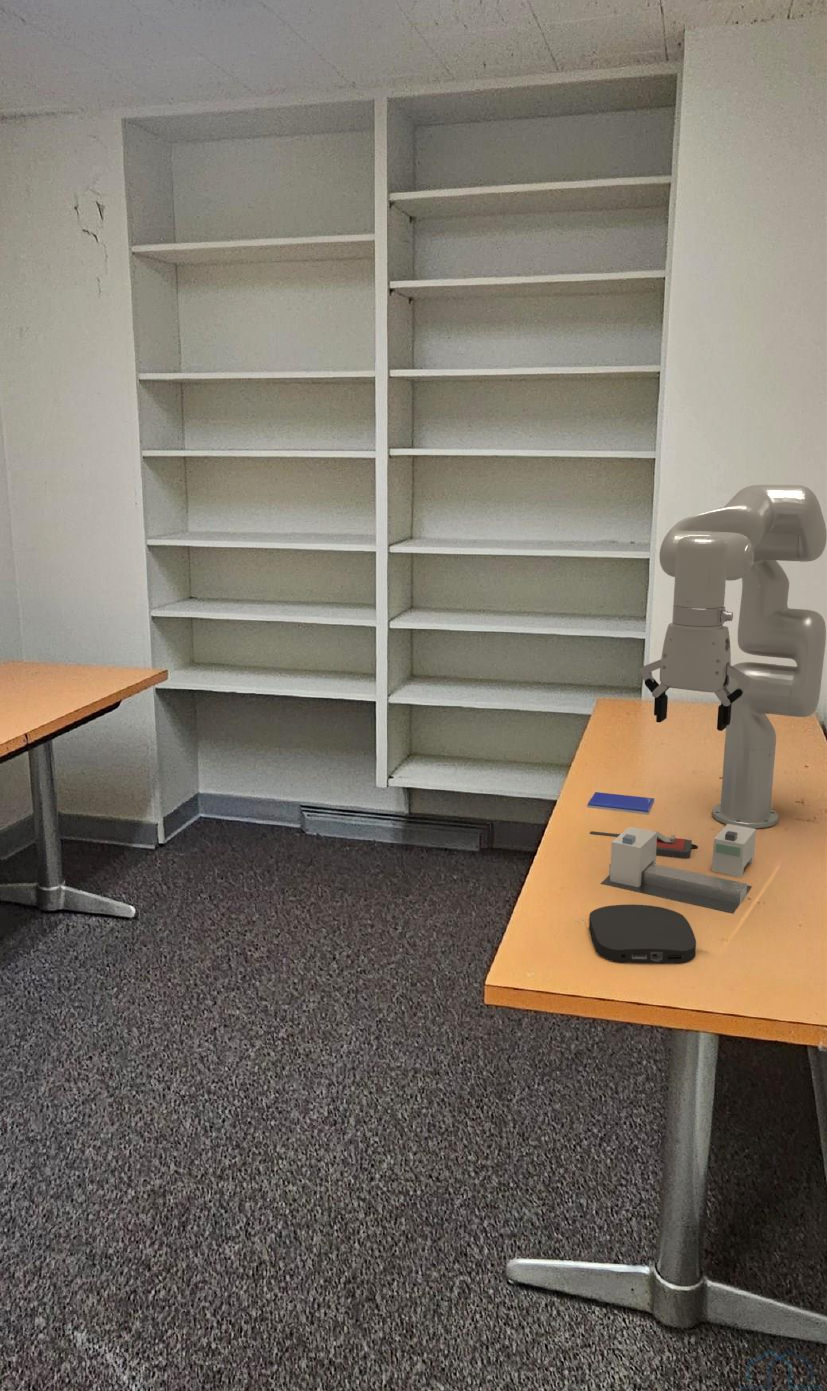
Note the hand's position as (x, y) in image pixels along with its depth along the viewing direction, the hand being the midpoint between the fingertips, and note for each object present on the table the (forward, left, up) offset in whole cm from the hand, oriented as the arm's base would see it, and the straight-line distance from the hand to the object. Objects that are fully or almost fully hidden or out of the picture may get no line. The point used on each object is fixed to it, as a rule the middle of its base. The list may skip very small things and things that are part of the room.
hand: (691, 724), depth 159 cm
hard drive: (-38, -25, -30) cm, 55 cm away
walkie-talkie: (-16, -13, -30) cm, 37 cm away
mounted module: (-2, -9, -29) cm, 30 cm away
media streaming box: (+18, -1, -30) cm, 35 cm away
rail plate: (-2, -2, -30) cm, 30 cm away
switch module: (-15, +4, -30) cm, 34 cm away
